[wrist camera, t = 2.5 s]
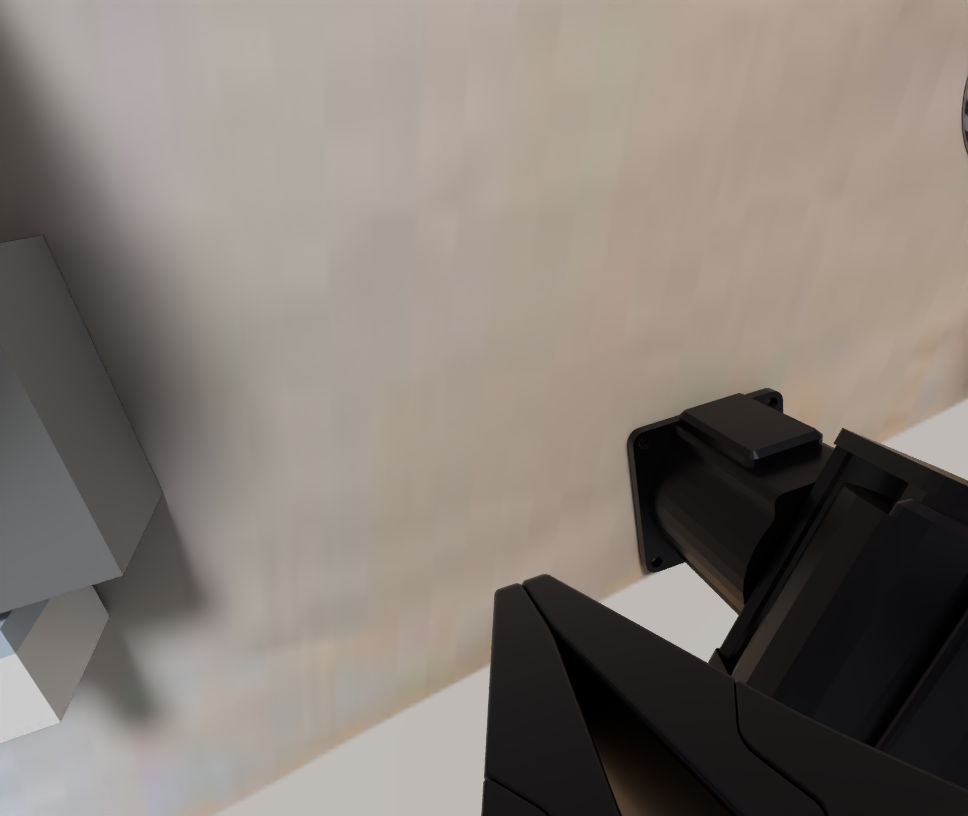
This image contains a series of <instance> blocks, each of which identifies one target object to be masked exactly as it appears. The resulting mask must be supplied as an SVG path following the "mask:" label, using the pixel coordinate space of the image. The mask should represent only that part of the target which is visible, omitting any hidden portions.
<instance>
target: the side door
mask: <svg viewBox="0 0 968 816" xmlns="http://www.w3.org/2000/svg"><path fill="white" fill-rule="evenodd" d="M108 619H109V615H108V613H107V611H106V609H105V608H104V606H103V604H102V602H101V600H100V599H99V597H98V595H97V593H96V591H95V590H94V588H93V586H92V585H91V586H88V587H85V588H81V589H78V590H75V591H72V592H68V593H65V594H62V595H59V596H55V597H52V598H49V599H46V600H42V601H39V602H36V603H33V604H29V605H26V606H23V607H20V608H16V609H13V610H10V611H7V612H3V613H0V743H2V742H4V741H7V740H10V739H13V738H16V737H19V736H22V735H25V734H28V733H31V732H34V731H37V730H40V729H42V728H45V727H48V726H51V725H54V724H57V723H60V722H61V720H62V718H63V716H64V714H65V712H66V710H67V707H68V705H69V703H70V701H71V699H72V697H73V695H74V692H75V690H76V688H77V686H78V684H79V682H80V679H81V677H82V675H83V673H84V671H85V669H86V666H87V664H88V662H89V660H90V658H91V656H92V653H93V651H94V649H95V647H96V645H97V643H98V641H99V638H100V636H101V634H102V632H103V630H104V628H105V625H106V623H107V621H108Z"/></svg>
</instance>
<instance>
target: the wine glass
mask: <svg viewBox="0 0 968 816" xmlns="http://www.w3.org/2000/svg"><path fill="white" fill-rule="evenodd" d="M962 116H963V133H964V139H965V145H966V148H967V151H968V80H967V84H966V89H965V93H964V102H963V111H962Z"/></svg>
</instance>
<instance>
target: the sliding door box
mask: <svg viewBox="0 0 968 816" xmlns="http://www.w3.org/2000/svg"><path fill="white" fill-rule="evenodd" d="M162 493H163V492H162V490H161V488H160V486H159V484H158V481H157V479H156V477H155V475H154V473H153V471H152V469H151V466H150V464H149V462H148V460H147V458H146V456H145V454H144V451H143V449H142V447H141V445H140V443H139V441H138V438H137V436H136V434H135V432H134V430H133V428H132V426H131V423H130V421H129V419H128V417H127V415H126V413H125V411H124V408H123V406H122V404H121V402H120V400H119V398H118V396H117V393H116V391H115V389H114V387H113V385H112V383H111V381H110V378H109V376H108V374H107V372H106V370H105V368H104V366H103V363H102V361H101V359H100V357H99V355H98V353H97V350H96V348H95V346H94V344H93V342H92V340H91V338H90V335H89V333H88V331H87V329H86V327H85V325H84V323H83V320H82V318H81V316H80V314H79V312H78V310H77V308H76V305H75V303H74V301H73V299H72V297H71V295H70V293H69V290H68V288H67V286H66V284H65V282H64V280H63V278H62V275H61V273H60V271H59V269H58V267H57V265H56V263H55V260H54V258H53V256H52V254H51V252H50V250H49V247H48V245H47V243H46V241H45V239H44V237H43V235H42V236H37V237H31V238H25V239H20V240H14V241H9V242H3V243H0V613H3V612H7V611H10V610H13V609H16V608H20V607H23V606H26V605H29V604H33V603H36V602H39V601H42V600H46V599H49V598H52V597H55V596H59V595H62V594H65V593H68V592H72V591H75V590H78V589H81V588H85V587H88V586H91V585H94V584H98V583H101V582H104V581H107V580H111V579H114V578H117V577H120V576H123V575H124V573H125V571H126V568H127V566H128V564H129V562H130V560H131V558H132V556H133V554H134V552H135V550H136V548H137V545H138V543H139V541H140V539H141V537H142V535H143V533H144V531H145V529H146V527H147V524H148V522H149V520H150V518H151V516H152V514H153V512H154V510H155V508H156V506H157V504H158V501H159V499H160V497H161V495H162Z"/></svg>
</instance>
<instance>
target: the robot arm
mask: <svg viewBox="0 0 968 816" xmlns="http://www.w3.org/2000/svg"><path fill="white" fill-rule="evenodd" d="M770 398H771V399H770ZM769 399H770V402H769V403H768V405H766V404H767V401H768V400H769ZM644 437H646V440H645V442H644V444H642V445H641V446H639V442H640V441H641V439H643V438H644ZM822 439H823V434H822V433H820V432H819V431H818V430H816V429H815V428H813V427H811V426H809V425H806V424H804V423H802V422H800V421H798V420H796V419H794V418H792V417H790V416H787V415H785V414H783V398H782V395H781V394H780V393H779V392H777V391H775V390H773V389H770V388H765V389H762V390H758V391H755V392H752V393H749V394H746V395H743V394H741V393H738V394H735V395H732V396H728V397H725V398H722V399H719V400H715V401H712V402H709V403H706V404H703V405H699V406H696V407H693V408H690V409H687V410H684V411H683V412H682V413H681V414H680V415H678V416H675V417H672V418H669V419H665V420H662V421H659V422H656V423H652V424H649V425H646V426H643V427H640V428H637V429H635V430H634V431H633V432H632V433H631V434H630V436H629V438H628V449H629V458H630V466H631V475H632V484H633V493H634V502H635V510H636V519H637V528H638V537H639V546H640V555H641V561H642V564H643V565H644V566H645V567H646V569H647V570H649V571H650V572H653V573H654V572H659V571H662V570H665V569H667V568H670V567H673V566H676V565H678V564H681V563H684V562H686V563H687V564H688V565H689V566H690V567H691V568H692V569H693V570H694V571H695V572H696V573H697V574H698V575H699V576H700V577H701V578H702V579H703V580H704V581H705V582H706V583H707V584H708V585H709V586H710V587H711V588H712V589H713V590H714V591H715V592H716V593H717V594H718V595H719V596H720V597H721V598H722V599H723V600H724V601H725V602H726V603H727V604H728V605H729V606H730V607H731V608H732V609H733V610H734V611H735V612H736V613H737V614H738V615H739V616H738V618H737V620H736V621H735V623H734V625H733V627H732V628H731V630H730V632H729V633H728V635H727V637H726V639H725V640H724V642H723V644H722V646H721V647H720V648H716V650H715V651H714V653H713V655H712V657H711V659H710V660H709V662H708V663H709V664H708V663H707V662H705V661H703V660H701V659H699V658H698V657H696V656H694V655H692V654H690V653H689V652H687V651H685V650H683V649H681V648H680V647H678V646H676V645H674V644H672V643H671V642H669V641H667V640H665V639H663V638H662V637H660V636H658V635H656V634H654V633H653V632H651V631H649V630H647V629H645V628H644V627H642V626H640V625H638V624H636V623H635V622H633V621H631V620H629V619H627V618H626V617H624V616H622V615H620V614H618V613H617V612H615V611H613V610H611V609H609V608H608V607H606V606H604V605H602V604H601V603H599V602H597V601H595V600H593V599H592V598H590V597H588V596H586V595H584V594H583V593H581V592H579V591H577V590H575V589H574V588H572V587H570V586H568V585H566V584H565V583H563V582H561V581H559V580H557V579H556V578H554V577H552V576H550V575H547V574H542V575H539V576H536V577H533V578H530V579H527V580H525V581H524V582H523V583H522V585H521V584H518V583H515V584H512V585H509V586H506V587H503V588H500V589H498V590H497V591H496V592H495V595H494V612H493V630H492V647H491V665H490V683H489V701H488V718H487V735H486V753H485V772H484V778H485V781H484V783H483V799H482V814H481V816H968V481H967V480H965V479H963V478H961V477H958V476H956V475H954V474H952V473H949V472H947V471H944V470H942V469H940V468H938V467H935V466H933V465H931V464H928V463H926V462H923V461H921V460H919V459H916V458H914V457H911V456H909V455H907V454H904V453H902V452H899V451H897V450H894V449H892V448H890V447H887V446H885V445H882V444H880V443H878V442H875V441H873V440H870V439H868V438H866V437H863V436H861V435H858V434H856V433H854V432H851V431H849V430H846V429H844V428H842V430H841V431H840V433H839V435H838V437H837V438H836V440H835V442H834V444H835V445H836V447H835V448H833V447H831V446H829V445H827V444H825V443H823V442H822ZM656 557H657V558H656ZM654 558H656V560H655V561H653V562H652V560H653V559H654Z"/></svg>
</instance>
